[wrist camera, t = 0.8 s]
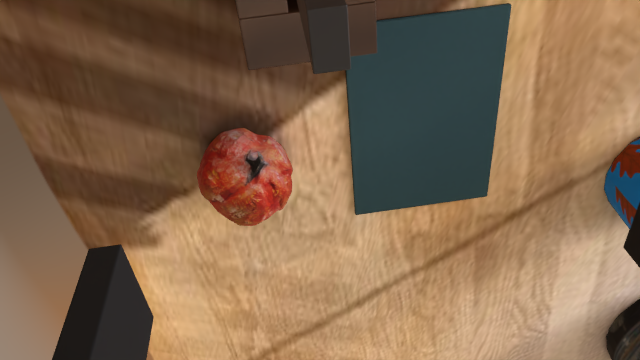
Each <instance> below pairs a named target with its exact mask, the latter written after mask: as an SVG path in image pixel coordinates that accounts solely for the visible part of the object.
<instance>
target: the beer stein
mask: <svg viewBox="0 0 640 360" xmlns="http://www.w3.org/2000/svg"><path fill="white" fill-rule="evenodd" d="M606 339H607V349H608V352H609V354H610V357H611V359H612V360H640V299H639V300H638V301H636V302H635V303H634V304H633V305H631V306H630V307H629V308H628V309H626V310H625V311H624V312H623V313H621V314H620V315H619V316H618V317H617V319H616V320H615V321H614V323H613V324H612V325H611V327H610V328H609V331H608V334H607V336H606Z"/></svg>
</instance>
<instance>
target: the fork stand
mask: <svg viewBox="0 0 640 360" xmlns="http://www.w3.org/2000/svg"><path fill="white" fill-rule="evenodd" d="M375 1H376V0H345V2H346V4H347V8H348V24H349V41H350V57H352V56H360V55H367V54H375V53H377V23H376V2H375ZM235 2H236V7H237V13H238V18H239V23H240V29H241V34H242V39H243V45H244V50H245V55H246V61H247V66H248V70H254V69H261V68H269V67H277V66H284V65H292V64H299V63H307V62H311V61H310V56H309V52H308V48H307V43H306V39H305V34H304V30H303V26H302V21H301V17H300V13H299V8H298V4H297V0H235Z"/></svg>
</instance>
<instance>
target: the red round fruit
mask: <svg viewBox="0 0 640 360" xmlns="http://www.w3.org/2000/svg"><path fill="white" fill-rule="evenodd" d="M292 171H293V169H292V166H291V162H290V160H289V158H288V156H287V154H286V152H285V150H284V149H283V147H282V146H281V144H279V143H278V142H277V141H275V140H274V139H273V138H272V137H270V136H265V135H257V134H255V133H253V132H251V131H249V130H247V129H245V128H237V129H233V130H229V131H225V132H222V133H220V134H219V135H218V136H217V137H216V138H215V139H214V140H213V141H212V142H211V143H210V145H209V146H208V148H207V149H206V151H205V153H204V155H203V158H202V161H201V163H200V168H199V170H198V172H197V178H198V183H199V188H200V191H201V193H202V195H203V196H204V197H205V198H206V199H207V200H209V202H210V203H211V204H212V205H213V206H214V208H215V209H216V210H217V211H218V212H219V213H221V214H222V215H223V216H225V217H226V218H228V219H229V220H231V221H233V222H235V223H236V224H237V225H243V226H253V225H257V224H259V223H261V222H262V221H263V220H266V219H268V218H269V217H270V216H271V215H273V214H274V213H275V212H276V211H278V210H281V209H283V208H284V206H285V205H286V203H287V201H288V199H289V196H290V194H291V192H292V179H291V174H292Z"/></svg>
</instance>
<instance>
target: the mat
mask: <svg viewBox="0 0 640 360" xmlns="http://www.w3.org/2000/svg"><path fill="white" fill-rule="evenodd" d="M510 11H511V4H501V5H493V6H486V7H478V8H470V9H463V10H455V11H447V12H440V13H432V14H424V15H417V16H409V17H401V18H393V19H386V20H378V21H376V23H377V53H375V54H367V55H360V56H352V57H350V58H351V69H349V70H346V83H347V98H348V113H349V127H350V142H351V157H352V172H353V187H354V202H355V214H356V215H359V214H366V213H373V212H380V211H387V210H394V209H401V208H408V207H415V206H422V205H429V204H436V203H443V202H450V201H457V200H464V199H471V198H478V197H485V196H487V192H488V184H489V176H490V168H491V160H492V153H493V145H494V137H495V129H496V121H497V113H498V105H499V98H500V90H501V82H502V74H503V66H504V58H505V51H506V43H507V35H508V27H509V19H510Z"/></svg>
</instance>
